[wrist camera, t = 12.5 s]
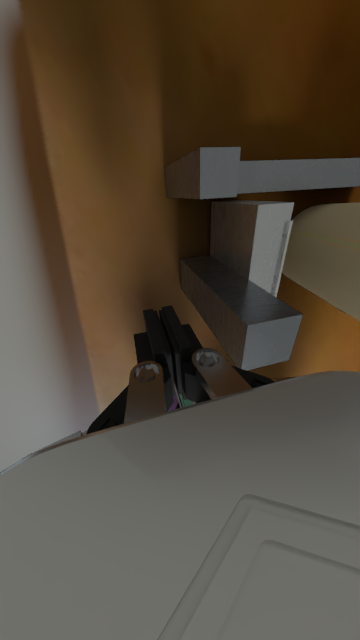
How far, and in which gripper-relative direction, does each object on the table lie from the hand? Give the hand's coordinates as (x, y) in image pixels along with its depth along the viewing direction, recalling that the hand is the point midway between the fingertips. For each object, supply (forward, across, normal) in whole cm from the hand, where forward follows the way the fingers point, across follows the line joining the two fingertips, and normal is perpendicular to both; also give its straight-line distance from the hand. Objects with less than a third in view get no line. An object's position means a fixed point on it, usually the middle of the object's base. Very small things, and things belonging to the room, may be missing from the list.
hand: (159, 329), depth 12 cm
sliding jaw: (+9, -7, 0) cm, 11 cm away
